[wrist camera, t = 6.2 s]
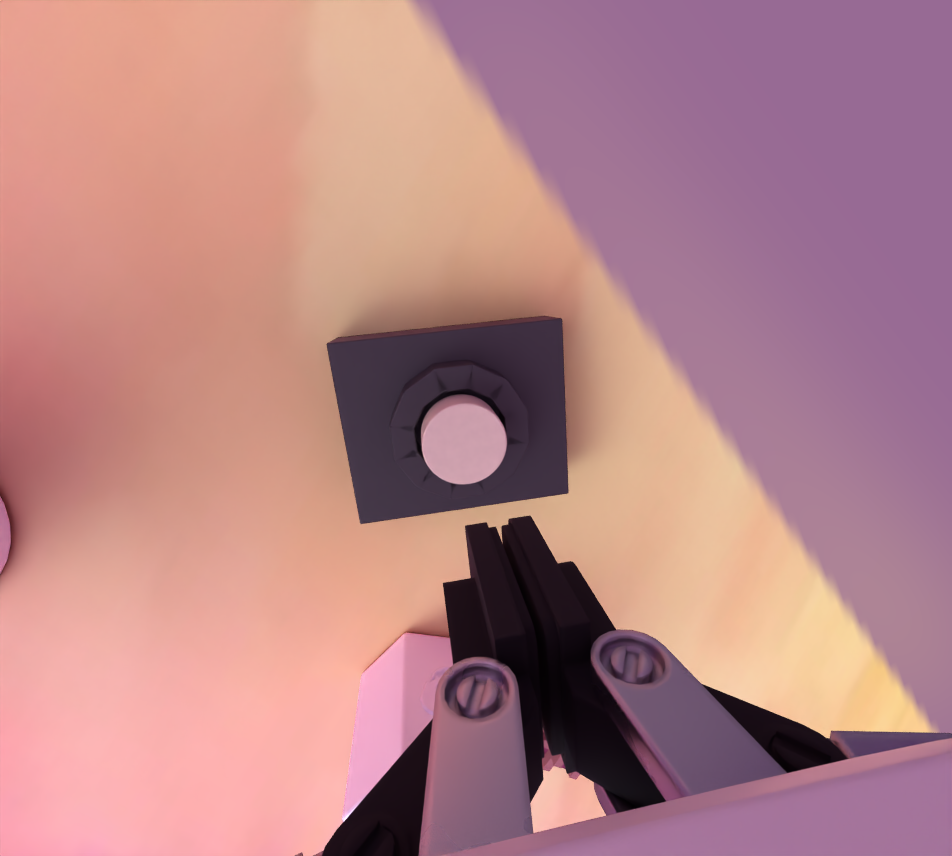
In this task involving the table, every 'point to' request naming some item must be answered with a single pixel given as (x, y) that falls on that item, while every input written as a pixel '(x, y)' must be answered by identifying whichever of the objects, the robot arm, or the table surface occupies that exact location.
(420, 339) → the black push button
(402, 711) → the jar
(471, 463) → the pink short cylinder
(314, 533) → the table surface
